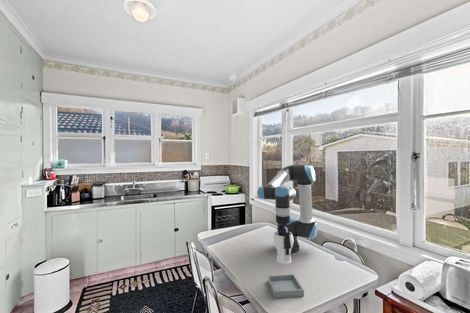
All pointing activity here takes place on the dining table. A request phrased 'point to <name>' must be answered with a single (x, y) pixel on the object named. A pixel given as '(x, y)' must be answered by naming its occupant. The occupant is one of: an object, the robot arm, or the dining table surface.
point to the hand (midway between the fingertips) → (283, 255)
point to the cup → (281, 247)
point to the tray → (285, 286)
